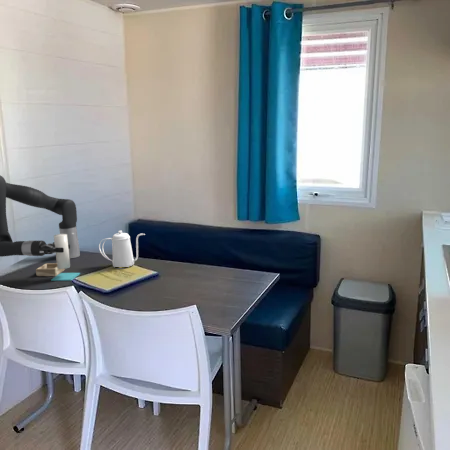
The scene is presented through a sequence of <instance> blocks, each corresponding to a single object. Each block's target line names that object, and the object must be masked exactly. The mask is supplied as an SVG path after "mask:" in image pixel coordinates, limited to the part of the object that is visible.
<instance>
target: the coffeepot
mask: <svg viewBox="0 0 450 450" xmlns="http://www.w3.org/2000/svg"><path fill="white" fill-rule="evenodd" d="M145 235H146V234H145V233H143V232H142V233H139V234H137V236H136V238H135V248H136V249H135V250H136V251H135V252H136V257H135V259H134V254H133V248H132V243H131V236H130V235H129V233H127V232H123V230H118V231H117V233H114V234H113V235H112V237H107V238H103V239H101V241H100V242H99V245H98V249H99V252H100V254H101V255H102V256H103V257H104V258H105V259H106V260H108V261H111V262H112V267H113V268H115V267H128V268H130V267H129V266H131V267H132V265H133V266H134V265H135V262H136V261H137V260H138V258H139V237H140V236H145ZM108 240H111V245H112V246H111V248H112V249H111V251H112V255H111V256H112V259H111V258H109V257H108V255H106V253H105V251H104V244H105V242H106V241H108ZM102 242H103V243H102ZM101 243H102V245H101ZM101 246H102V247H101ZM101 248H102V249H101Z"/></svg>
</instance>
